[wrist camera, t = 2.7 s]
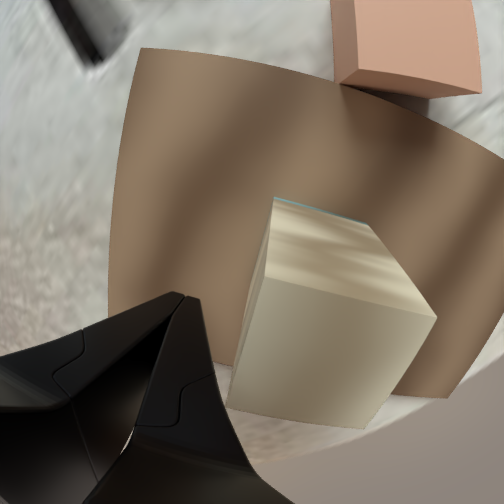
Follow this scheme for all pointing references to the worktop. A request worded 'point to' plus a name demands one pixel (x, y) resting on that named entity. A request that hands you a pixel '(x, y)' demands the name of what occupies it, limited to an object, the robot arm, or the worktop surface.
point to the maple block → (325, 321)
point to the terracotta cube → (407, 47)
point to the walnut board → (299, 197)
